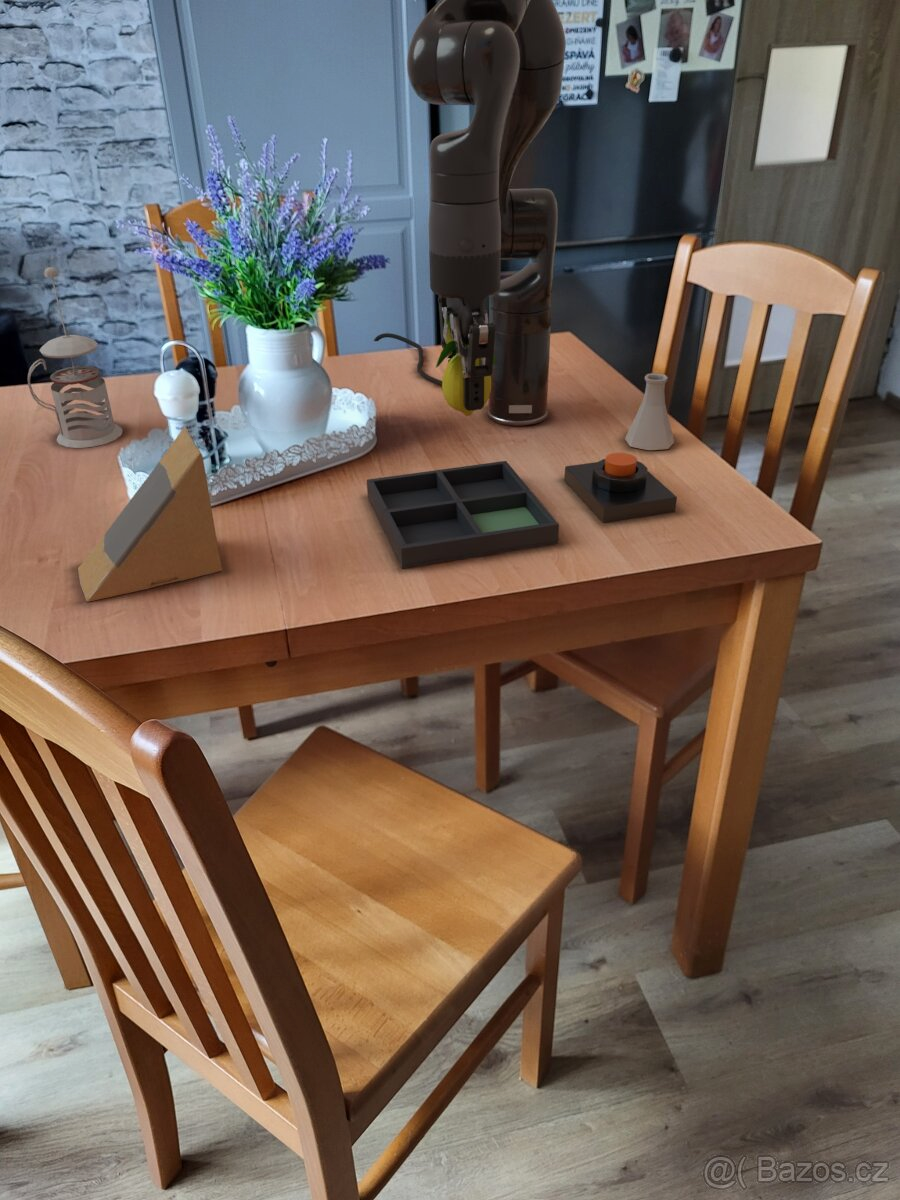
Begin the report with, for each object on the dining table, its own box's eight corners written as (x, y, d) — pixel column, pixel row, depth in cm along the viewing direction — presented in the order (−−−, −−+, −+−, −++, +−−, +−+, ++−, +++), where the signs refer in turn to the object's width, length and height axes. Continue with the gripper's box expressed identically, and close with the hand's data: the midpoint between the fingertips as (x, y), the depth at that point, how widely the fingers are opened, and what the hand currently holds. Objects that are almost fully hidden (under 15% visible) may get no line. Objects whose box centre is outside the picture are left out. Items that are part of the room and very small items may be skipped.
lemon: (436, 426, 105) (434, 338, 100) (437, 407, 110) (435, 322, 105) (496, 425, 105) (497, 337, 100) (494, 406, 110) (495, 321, 105)
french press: (125, 441, 141) (89, 271, 128) (44, 454, 138) (-3, 280, 124) (120, 419, 149) (84, 256, 136) (42, 430, 146) (-2, 264, 132)
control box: (564, 481, 128) (565, 453, 126) (631, 471, 130) (633, 444, 128) (603, 523, 117) (605, 494, 115) (675, 512, 119) (678, 484, 117)
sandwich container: (76, 568, 110) (44, 449, 102) (205, 539, 115) (185, 424, 107) (85, 603, 103) (52, 479, 95) (222, 571, 109) (202, 451, 100)
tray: (367, 497, 124) (366, 479, 123) (505, 478, 129) (506, 460, 127) (402, 568, 108) (401, 548, 107) (558, 544, 113) (559, 524, 111)
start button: (599, 467, 123) (600, 454, 122) (627, 463, 124) (628, 450, 123) (612, 479, 120) (613, 466, 119) (640, 475, 120) (642, 462, 119)
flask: (674, 453, 135) (682, 386, 129) (623, 450, 136) (629, 384, 131) (674, 434, 141) (682, 369, 135) (625, 431, 142) (631, 367, 137)
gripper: (521, 257, 93) (517, 418, 102) (478, 228, 104) (478, 375, 113) (448, 263, 91) (451, 426, 100) (413, 233, 103) (418, 382, 112)
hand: (465, 398), depth 107 cm, fingers closed on lemon, 5 cm apart
